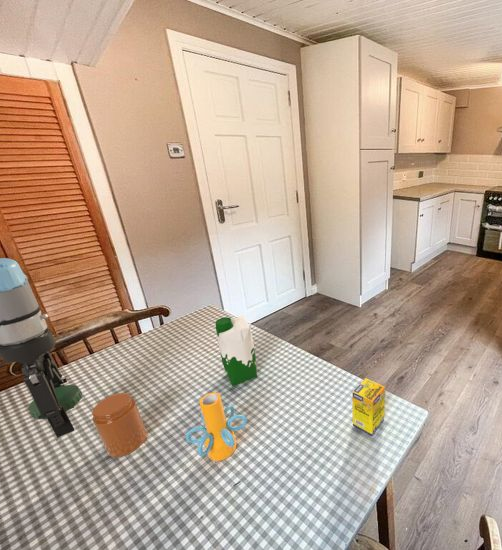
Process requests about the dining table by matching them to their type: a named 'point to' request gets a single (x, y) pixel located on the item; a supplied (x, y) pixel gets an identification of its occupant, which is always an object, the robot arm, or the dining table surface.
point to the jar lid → (60, 399)
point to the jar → (119, 424)
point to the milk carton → (236, 349)
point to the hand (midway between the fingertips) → (66, 420)
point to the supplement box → (368, 406)
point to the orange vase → (216, 428)
